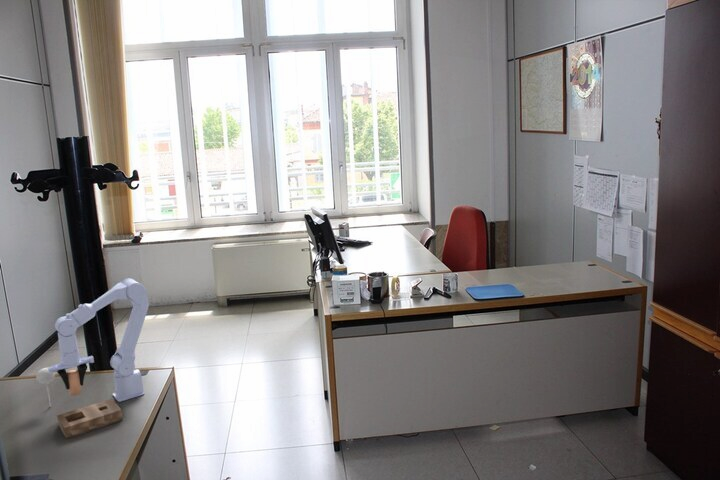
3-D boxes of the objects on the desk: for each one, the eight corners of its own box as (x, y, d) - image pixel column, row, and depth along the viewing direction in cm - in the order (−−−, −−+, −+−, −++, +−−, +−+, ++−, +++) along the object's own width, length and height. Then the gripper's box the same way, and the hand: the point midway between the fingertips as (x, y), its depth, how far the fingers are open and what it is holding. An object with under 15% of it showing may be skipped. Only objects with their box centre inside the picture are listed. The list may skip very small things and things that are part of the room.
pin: (80, 389, 216) (77, 368, 214) (83, 393, 213) (79, 372, 211) (68, 392, 213) (65, 371, 212) (70, 396, 210) (67, 375, 209)
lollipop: (51, 411, 214) (45, 372, 211) (37, 410, 216) (31, 371, 212) (63, 403, 220) (57, 365, 217) (49, 402, 222) (43, 364, 218)
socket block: (113, 408, 215) (111, 398, 214) (122, 420, 206) (121, 409, 205) (58, 426, 204) (56, 415, 203) (66, 439, 195) (64, 427, 194)
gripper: (88, 341, 217) (93, 376, 220) (44, 352, 208) (49, 388, 211) (93, 347, 212) (98, 383, 214) (48, 358, 203) (54, 395, 206)
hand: (74, 386), depth 212 cm, fingers closed on pin, 4 cm apart
